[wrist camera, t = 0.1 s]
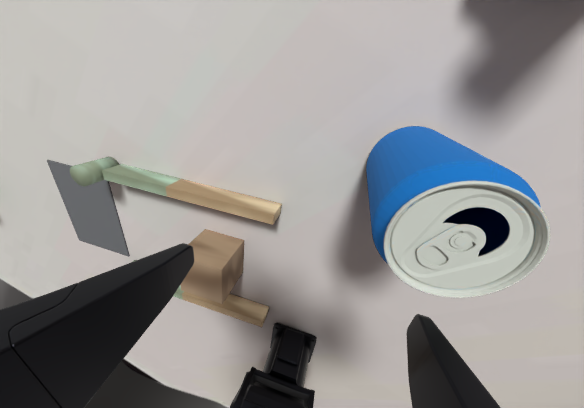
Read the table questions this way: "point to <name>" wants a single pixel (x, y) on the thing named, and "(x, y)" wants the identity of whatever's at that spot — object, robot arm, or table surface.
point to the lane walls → (196, 195)
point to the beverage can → (451, 216)
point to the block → (214, 266)
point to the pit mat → (90, 210)
